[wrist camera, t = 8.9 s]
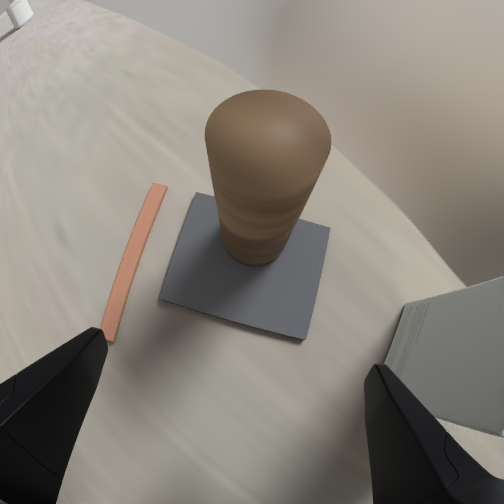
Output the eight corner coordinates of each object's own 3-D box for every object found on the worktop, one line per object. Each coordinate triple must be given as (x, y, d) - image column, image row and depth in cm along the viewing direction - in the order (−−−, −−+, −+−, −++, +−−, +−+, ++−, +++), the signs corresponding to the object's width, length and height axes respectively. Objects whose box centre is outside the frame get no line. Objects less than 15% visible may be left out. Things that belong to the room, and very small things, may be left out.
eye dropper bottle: (35, 16, 34) (21, -17, 22) (16, 30, 33) (0, -2, 21) (33, 15, 35) (19, -17, 23) (14, 28, 33) (-1, -3, 22)
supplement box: (367, 393, 18) (498, 438, 5) (404, 300, 20) (537, 256, 7) (435, 416, 17) (554, 445, 5) (465, 333, 19) (585, 313, 7)
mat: (304, 339, 19) (305, 339, 18) (160, 298, 19) (158, 298, 19) (328, 229, 21) (330, 227, 20) (196, 194, 21) (196, 192, 21)
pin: (256, 280, 19) (275, 212, 9) (208, 235, 20) (178, 133, 9) (299, 234, 20) (353, 136, 10) (253, 194, 21) (264, 75, 10)
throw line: (114, 342, 18) (112, 342, 18) (100, 335, 18) (98, 335, 18) (167, 187, 21) (166, 185, 21) (153, 184, 21) (152, 183, 21)
